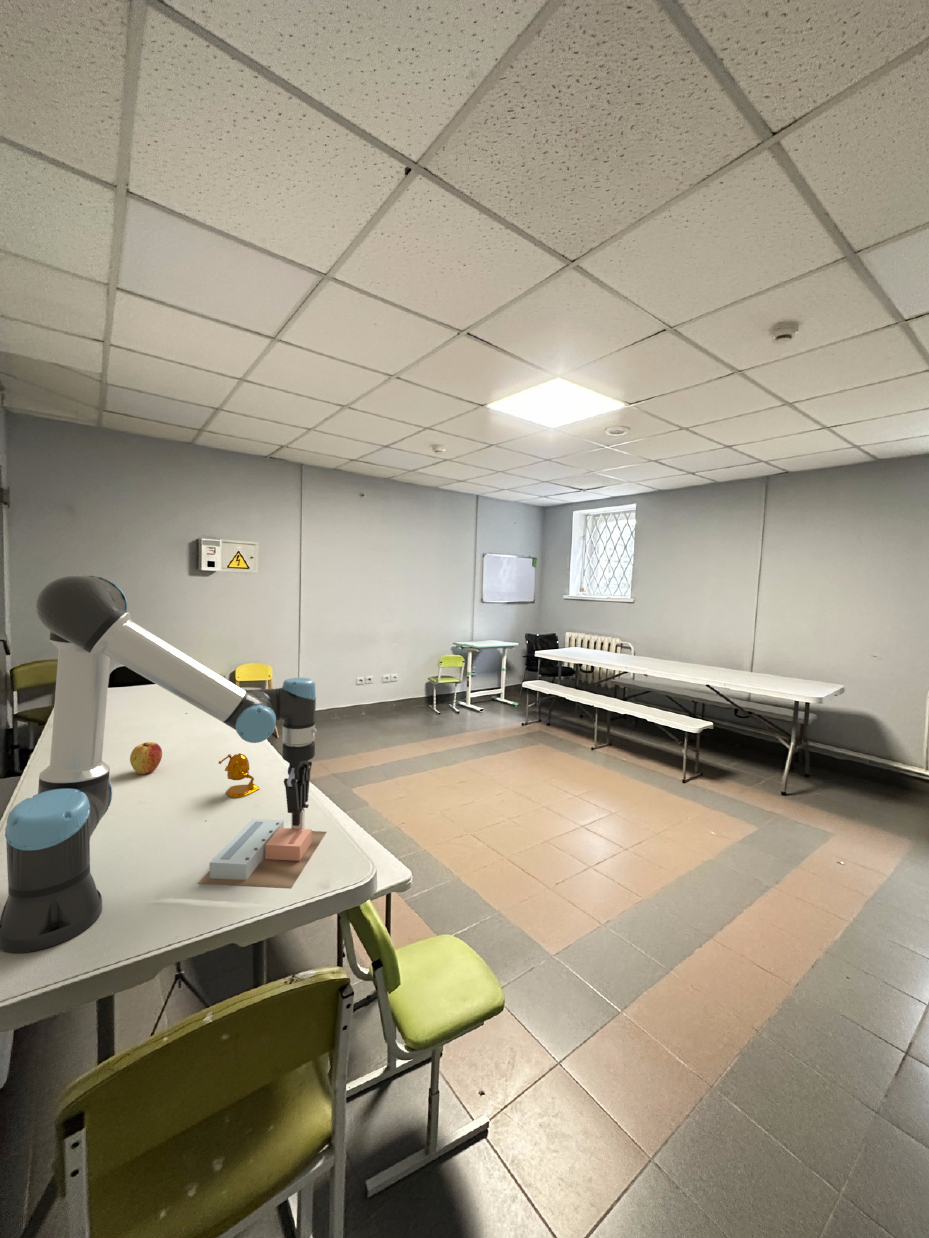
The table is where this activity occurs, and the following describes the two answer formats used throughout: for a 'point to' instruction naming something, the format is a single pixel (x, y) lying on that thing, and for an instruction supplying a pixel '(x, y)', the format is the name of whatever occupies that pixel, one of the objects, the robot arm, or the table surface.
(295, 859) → the stub
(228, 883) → the backing board
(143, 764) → the apple
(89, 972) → the table surface
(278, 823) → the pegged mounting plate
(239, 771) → the figurine
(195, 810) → the table surface
